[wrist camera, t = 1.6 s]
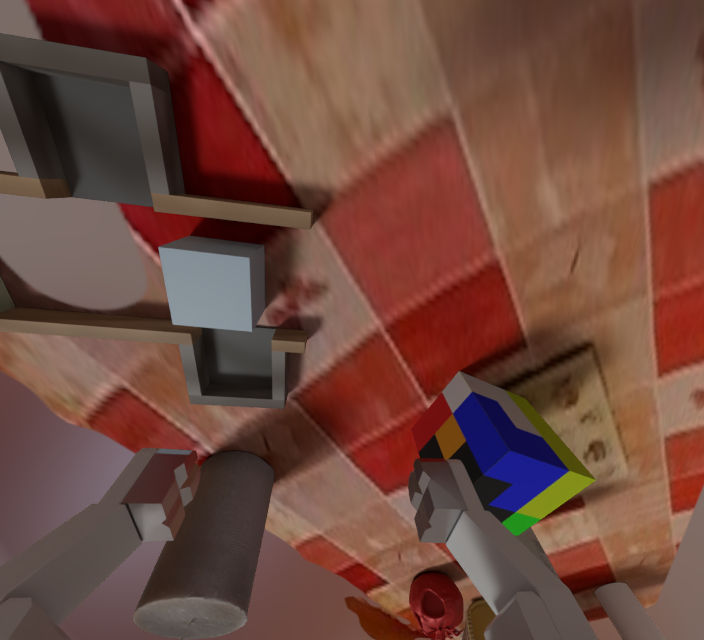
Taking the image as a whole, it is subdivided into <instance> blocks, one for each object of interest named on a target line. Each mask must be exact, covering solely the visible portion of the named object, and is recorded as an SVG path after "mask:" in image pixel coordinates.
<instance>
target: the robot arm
mask: <svg viewBox="0 0 704 640" xmlns="http://www.w3.org/2000/svg"><path fill="white" fill-rule="evenodd" d="M197 458H198V457H197V453H196V451H194V450H175V449H159V448H142V449H141V450H140V451H138V452H137V453H136V454H135V456H134V457H133V458H132V460H131V461H130V462H129V464H128V465H127V466H126V468H125V469H124V470H123V472H122V473H121V474H120V476H119V477H118V478H117V480H116V481H115V482H114V483H113V485H112V486H111V488H110V489H109V490H108V491H107V493H106V494H105V495H104V497H103V498H102V499H101V501H100V502H99V503H98V504H91V505H90V506H88V507H87V508H85V509H84V510H83V511H81V512H80V513H78V514H77V515H75V516H74V517H72V518H71V519H69V520H68V521H66V522H65V523H63V524H62V525H61V526H59V527H57V528H56V529H55V530H53V531H52V532H50V533H49V534H47V535H46V536H44V537H43V538H41V539H40V540H38V541H37V542H35V543H34V544H32V545H31V546H29V547H28V548H27V549H25V550H24V551H22V552H21V553H19V554H18V555H16V556H15V557H13V558H12V559H11V560H9V561H7V562H6V563H4V564H3V565H1V566H0V640H71V639H70V638H69V637H68V636H67V635H66V633H65V632H64V631H63V630H62V629H61V628H59V624H61V623H62V621H64V620H65V619H66V618H67V617H68V616H69V615H70V614H71V613H72V612H73V611H74V610H75V609H76V608H77V607H78V606H79V605H80V604H81V603H82V602H83V601H84V600H85V599H86V598H87V597H88V596H89V595H90V594H91V593H92V592H93V591H94V590H95V589H96V588H97V587H98V586H99V585H100V584H101V583H102V582H103V581H104V580H105V579H106V578H107V577H108V576H109V575H110V574H111V573H112V572H113V571H114V570H115V569H116V568H117V567H118V566H119V565H120V564H121V563H123V562H124V561H125V559H126V558H128V557H129V556H130V555H131V554H132V553H133V551H135V550H136V549H137V548H138V547H139V546H140V545H141V543H142V542H141V541H174V539H175V537H176V534H177V532H178V530H179V528H180V526H181V524H182V522H183V519H184V517H185V510H184V506H186V505H187V504H188V503H189V502H190V501H191V500H193V498H194V496H195V493H196V491H197V488H198V485H199V481H200V473H201V471H200V467H199V466H198V465H197V464H196V463H195V462H196V460H197ZM414 469H415V470H414V471H413V472H412V473H410V477H409V485H408V489H409V497H410V501H411V504H412V505H413V507H414V508H415V509H416V510H417V513H416V516H415V518H414V519H415V523H416V527H417V531H418V536H419V540H420V542H431V543H446V546H447V547H448V549H449V550H450V551H451V553H452V554H453V556H454V557H455V558H456V560H457V561H458V563H459V564H460V565H461V567H462V568H463V570H464V571H465V572H466V574H467V575H468V577H469V578H470V579H471V581H472V582H473V584H474V585H475V586H476V588H477V589H478V591H479V592H480V593H481V595H482V596H483V598H484V599H485V600H486V602H487V603H488V605H489V606H490V607H491V609H492V610H493V612H494V613H495V614H496V617H495V618H494V619H493V620H492V621H491V623H490V624H489V625H488V626H487V627H486V629H485V632H484V636H485V640H598V638H597V636H596V634H595V633H594V631H593V629H592V627H591V626H590V624H589V622H588V620H587V619H586V617H585V615H584V613H583V612H582V610H581V608H580V606H579V605H578V603H577V601H576V599H575V598H574V596H573V594H572V592H571V591H570V589H569V588H568V587H567V586H566V585H565V584H564V583H563V582H562V581H561V580H560V579H558V578H557V577H556V576H555V575H554V574H553V573H552V572H551V571H550V570H549V569H548V568H547V567H546V566H545V565H544V564H543V563H542V562H541V561H540V560H539V559H538V558H537V557H536V556H535V555H534V554H533V553H532V552H531V551H530V550H529V549H528V548H527V547H526V546H525V545H523V544H522V543H521V542H520V541H519V540H518V539H517V538H516V537H515V536H514V535H513V534H512V533H511V532H510V531H509V530H508V529H507V528H506V527H505V526H504V525H503V524H502V523H501V522H500V521H499V520H498V519H497V518H496V517H495V516H494V515H493V514H492V513H491V512H490V511H484V508H483V506H482V504H481V502H480V500H479V497H478V495H477V493H476V491H475V489H474V487H473V484H472V482H471V480H470V478H469V476H468V473H467V471H466V469H465V467H464V465H463V463H462V462H461V461H460V460H457V459H431V458H417V459H416V460H415V462H414Z"/></svg>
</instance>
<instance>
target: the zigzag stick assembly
mask: <svg viewBox="0 0 704 640" xmlns="http://www.w3.org/2000/svg"><path fill="white" fill-rule="evenodd" d="M0 129H1V131H2V134H3V137H4V139H5V142H6V144H7V147H8V149H9V152H10V154H11V157H12V160H13V162H14V165H15V167H16V170H17V172H18V173H14V172H5V171H0V193H3V194H12V195H20V196H28V197H37V198H45V199H46V198H47V199H48V198H66V197H75V198H84V199H92V200H101V201H109V202H117V203H125V204H134V205H142V206H150V207H154V211H156V212H165V213H173V214H182V215H190V216H199V217H207V218H216V219H224V220H233V221H241V222H250V223H258V224H267V225H275V226H284V227H293V228H301V229H311V228H312V226H313V211H314V210H311V209H303V208H295V207H287V206H279V205H271V204H263V203H255V202H247V201H239V200H231V199H223V198H215V197H207V196H199V195H191V194H185V188H184V181H183V174H182V168H181V161H180V154H179V147H178V140H177V133H176V126H175V119H174V113H173V106H172V99H171V92H170V85H169V78H168V72H167V71H165V70H164V69H162V68H161V67H159V66H158V65H156V64H155V63H153V62H152V61H150V60H149V59H147V58H144V57H138V56H132V55H126V54H120V53H114V52H108V51H103V50H97V49H91V48H85V47H79V46H73V45H67V44H61V43H55V42H49V41H43V40H37V39H31V38H25V37H19V36H14V35H8V34H2V33H0ZM0 331H5V332H18V333H32V334H46V335H60V336H73V337H87V338H101V339H114V340H128V341H142V342H155V343H169V344H179V349H180V354H181V359H182V364H183V369H184V374H185V378H186V383H187V388H188V393H189V398H190V403H191V404H202V405H221V406H240V407H259V408H278V409H284V408H285V404H286V400H287V396H288V353H289V352H293V353H305V347H306V342H307V331H304V330H292V329H280V328H267V327H255V328H254V329H253V331H252V332H248V331H237V330H226V329H216V328H205V327H194V326H183V325H173V323H172V320H169V319H157V318H144V317H132V316H120V315H107V314H95V313H83V312H70V311H58V310H46V309H33V308H21V307H15V305H14V303H13V301H12V299H11V297H10V295H9V293H8V291H7V289H6V287H5V285H4V282H3V280H2V278H1V276H0Z"/></svg>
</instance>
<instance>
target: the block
mask: <svg viewBox="0 0 704 640" xmlns="http://www.w3.org/2000/svg"><path fill="white" fill-rule="evenodd" d="M158 248H159V253H160V259H161V264H162V269H163V275H164V280H165V286H166V291H167V296H168V302H169V307H170V312H171V318H172V323H173V325H183V326H194V327H205V328H216V329H226V330H237V331H248V332H252V331H253V329H254V328H255V326H256V324H257V322H258V321H259V319H260V317H261V315H262V314H263V312H264V310H265V248H264V245H260V244H252V243H244V242H236V241H228V240H220V239H212V238H204V237H196V236H187V237H185V238H182V239H179V240H176V241H174V242H171V243H168V244H165V245H162V246H160V247H158Z"/></svg>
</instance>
